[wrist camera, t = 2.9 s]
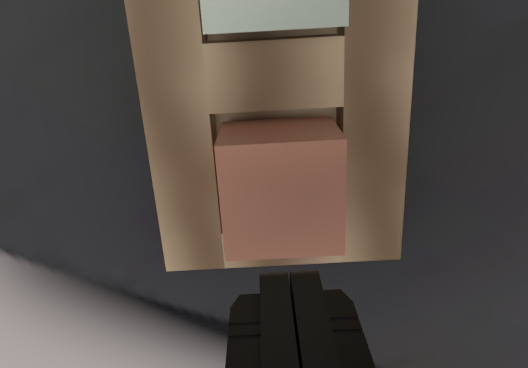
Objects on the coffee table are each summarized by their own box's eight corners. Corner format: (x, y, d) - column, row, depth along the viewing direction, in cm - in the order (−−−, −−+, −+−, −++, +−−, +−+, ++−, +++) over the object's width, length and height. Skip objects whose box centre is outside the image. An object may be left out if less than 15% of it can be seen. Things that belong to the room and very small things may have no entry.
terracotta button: (330, 115, 20) (346, 139, 17) (330, 214, 22) (345, 255, 18) (222, 122, 20) (214, 146, 17) (231, 219, 22) (225, 261, 18)
